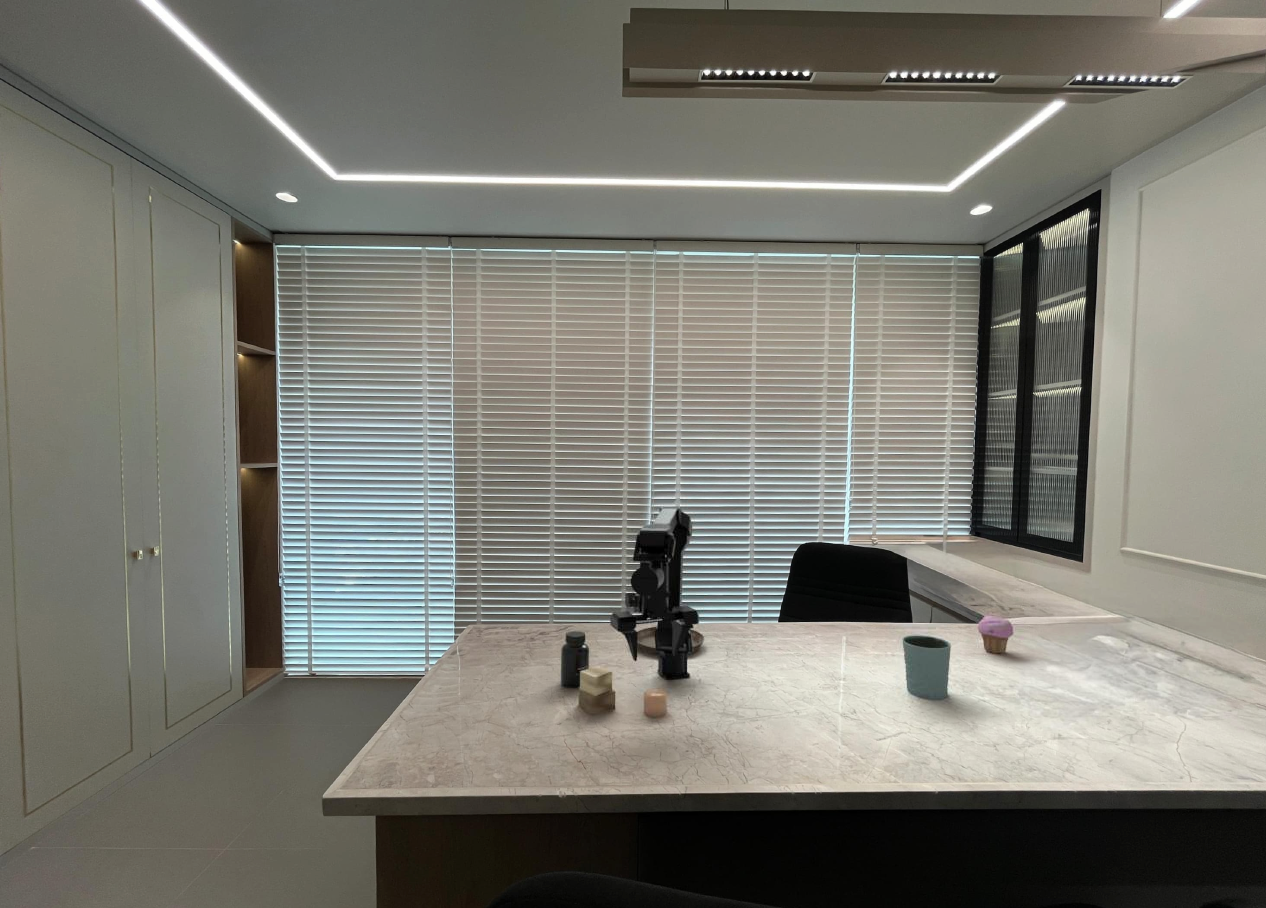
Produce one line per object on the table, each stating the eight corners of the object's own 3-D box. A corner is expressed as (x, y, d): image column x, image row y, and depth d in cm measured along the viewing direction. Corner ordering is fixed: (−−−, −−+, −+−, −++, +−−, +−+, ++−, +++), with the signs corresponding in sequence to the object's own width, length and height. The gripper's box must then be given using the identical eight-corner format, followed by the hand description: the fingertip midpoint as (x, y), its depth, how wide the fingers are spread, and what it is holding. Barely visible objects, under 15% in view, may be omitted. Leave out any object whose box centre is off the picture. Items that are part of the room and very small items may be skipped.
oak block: (596, 683, 134) (596, 665, 134) (612, 689, 130) (612, 671, 130) (580, 689, 130) (580, 671, 130) (595, 695, 126) (595, 677, 127)
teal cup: (956, 692, 139) (956, 641, 139) (943, 705, 131) (943, 651, 131) (910, 681, 146) (910, 632, 146) (896, 692, 138) (896, 641, 138)
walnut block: (602, 700, 134) (602, 682, 134) (615, 709, 129) (615, 691, 129) (578, 705, 131) (578, 687, 131) (590, 715, 126) (590, 696, 126)
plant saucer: (708, 659, 162) (708, 647, 162) (632, 659, 162) (632, 646, 162) (700, 636, 182) (700, 626, 182) (633, 636, 183) (633, 625, 183)
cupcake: (979, 644, 175) (979, 610, 175) (1014, 650, 170) (1014, 615, 170) (976, 652, 167) (976, 617, 168) (1012, 658, 162) (1012, 622, 163)
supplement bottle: (584, 689, 140) (584, 638, 140) (556, 687, 141) (557, 636, 141) (592, 678, 146) (592, 630, 147) (565, 676, 148) (566, 628, 148)
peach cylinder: (661, 706, 131) (661, 687, 131) (670, 715, 126) (670, 696, 126) (640, 709, 129) (640, 690, 129) (648, 718, 124) (648, 699, 124)
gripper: (678, 575, 138) (678, 642, 138) (602, 581, 132) (602, 651, 132) (700, 585, 128) (700, 657, 128) (618, 592, 122) (618, 667, 121)
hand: (654, 657), depth 128 cm, fingers open, 9 cm apart
